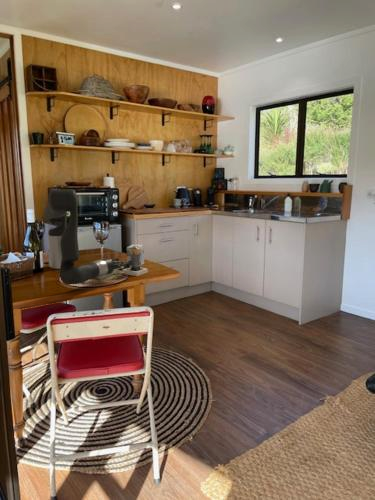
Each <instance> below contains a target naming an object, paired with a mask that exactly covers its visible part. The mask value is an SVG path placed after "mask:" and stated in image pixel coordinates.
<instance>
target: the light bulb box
mask: <svg viewBox="0 0 375 500" xmlns="http://www.w3.org/2000/svg"><path fill="white" fill-rule="evenodd" d="M133 246H137V247H139V248H140V267H141V266H143V265H144V264H145V244H135V243H133V244H131V245H129V246H127V247H126V262H127V261H130V248H131V247H133Z"/></svg>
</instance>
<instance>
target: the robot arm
mask: <svg viewBox="0 0 375 500" xmlns="http://www.w3.org/2000/svg"><path fill="white" fill-rule="evenodd" d="M78 208H79V207H78V196H77V192H76V191H75V190H74V189H71V188H69V189H68V188H66V189H65V188H63V189H53V190H51V191H50V192H49V194H48V202H47V204H46V205H45V207H44V211H43V212H44V213H43V214H44V215H43V216H44V218H45V220H46V222H48V223H59V224H58V225H57V226H54V227H53V228H50V229H48V249H47V251H48V252H47V253H48V267H49V268H50V269H56V270H57V269H59V278H60V281H61V282H62V284H63V285H67V286H69V285H78V284H82V283H84V282H87V281H88V280H93V279H97V278H96V277H102V276H105V275H108V274H111V273H112V272H113V271H114V270H116V269H118V270H120V271H123V270H124V269H127V268H130V265H132V261H131V260H130V261H127V260H126V261H122V260H119V259H120V258H118V257H117V258H108V257H106V258H101V259H97V260H94V261H91V262H87V263H84V264H83V265H78V266H77V265H76V266H75V262H76V261H78V260H80V250H79V242H78V241H79V238H78V231H79V230H78V225H79V224H78V223H79V222H78V221H79V218H78V217H79V215H78ZM68 212H69V219H68V217H67V216H68ZM67 219H68V220H67ZM67 221H68V223H67Z"/></svg>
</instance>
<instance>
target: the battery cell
mask: <svg viewBox="0 0 375 500" xmlns="http://www.w3.org/2000/svg"><path fill="white" fill-rule="evenodd" d="M130 260H131V261H132V265H130V270H131V271H136V272H137V271H140V267H141V266H140V248H139V247H137V246H133V247H131V248H130Z"/></svg>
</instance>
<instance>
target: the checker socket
mask: <svg viewBox="0 0 375 500" xmlns="http://www.w3.org/2000/svg"><path fill="white" fill-rule="evenodd" d="M148 270H149V269H148V268H145V267H141V266H140V271H137V272H136V271H131V270H130V268H127V269H124V270H122V274H123V273H124V274H123V275H128V276H133V277H138V276H141V275H145V274H147V273H149V272H148Z"/></svg>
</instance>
